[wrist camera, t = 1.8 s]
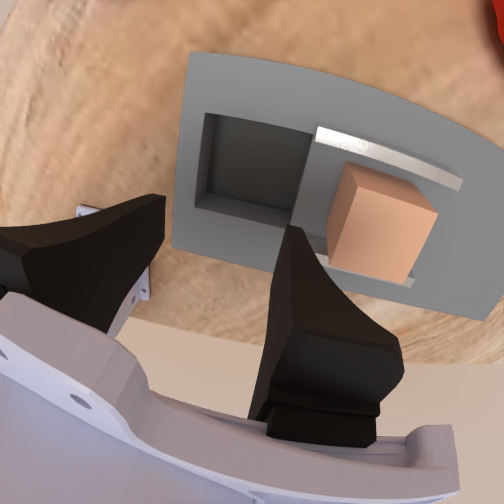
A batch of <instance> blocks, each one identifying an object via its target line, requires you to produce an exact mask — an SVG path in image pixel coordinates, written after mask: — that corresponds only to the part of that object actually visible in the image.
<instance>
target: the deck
mask: <svg viewBox="0 0 504 504" xmlns="http://www.w3.org/2000/svg"><path fill="white" fill-rule="evenodd" d="M317 122H321V123H324V124H328V125H332V126H335V127H338V128H342V129H345V130H349V131H352V132H355V133H358V134H361V135H364V136H367V137H370V138H373V139H376V140H379V141H382V142H385V143H388V144H391V145H393V146H396V147H399V148H401V149H404V150H407V151H409V152H412V153H414V154H417V155H419V156H422V157H424V158H426V159H429V160H431V161H434V162H436V163H438V164H440V165H443V166H445V167H447V168H449V169H451V170H452V171H453V172H455V173H456V174H457V175H458V176H460V177H461V178H462V179H463V182H462V184H461V187H460V189H459V192H458V191H456V190H454V189H452V188H449V187H447V186H445V185H442V184H440V183H437V182H435V181H433V180H430V179H428V178H425V177H423V176H420V175H418V174H415V173H412V172H410V171H407V170H404V169H402V168H399V167H396V166H393V165H391V164H388V163H385V162H382V161H379V160H376V159H373V158H370V157H367V156H364V155H361V154H358V153H354V152H351V151H348V150H344V149H341V148H338V147H334V146H331V145H327V144H323V143H320V142H316V141H315V140H314V131H315V127H316V123H317ZM346 161H350V162H353V163H356V164H360V165H363V166H366V167H369V168H372V169H375V170H378V171H381V172H384V173H387V174H390V175H393V176H396V177H398V178H401V179H404V180H407V181H410V182H412V183H413V184H414V185H415V186H416V187H417V189H418V190H419V191H420V192H421V193H422V194H423V196H424V197H425V198H426V199H427V200H428V202H429V203H430V204H431V205H432V207H433V208H434V209H435V210H436V212H437V213H438V216H437V218H436V220H435V222H434V225H433V227H432V229H431V231H430V233H429V235H428V237H427V239H426V241H425V243H424V245H423V247H422V249H421V251H420V253H419V255H418V257H417V259H416V261H415V263H414V265H413V267H412V268H411V269H412V271H413V273H414V276H415V278H416V279H415V281H414V283H413V285H412V286H411V288H408V287H404V286H400V285H396V284H392V283H388V282H384V281H380V280H376V279H372V278H368V277H364V276H360V275H356V274H352V273H348V272H344V271H340V270H336V269H332V268H328V267H324V266H323V268H324V269H325V271H326V272H327V274H328V275H329V276H330V278H331V279H332V280H333V281H334V283H335V284H336V285H337V286H338V287H339V289H341V290H346V291H350V292H354V293H359V294H363V295H367V296H372V297H376V298H380V299H385V300H389V301H393V302H398V303H402V304H407V305H411V306H416V307H420V308H424V309H429V310H434V311H438V312H443V313H447V314H452V315H456V316H461V317H466V318H470V319H475V320H480V321H485V320H486V318H487V317H488V316H489V314H490V313H491V312H492V310H493V309H494V307H495V306H496V305H497V303H498V302H499V300H500V299H501V297H502V296H503V294H504V150H502V149H500V148H499V147H497V146H496V145H494V144H492V143H491V142H489V141H487V140H486V139H484V138H482V137H481V136H479V135H477V134H475V133H474V132H472V131H470V130H468V129H466V128H465V127H463V126H461V125H459V124H457V123H455V122H453V121H451V120H449V119H447V118H445V117H443V116H441V115H439V114H437V113H435V112H432V111H430V110H428V109H426V108H424V107H421V106H419V105H417V104H414V103H412V102H410V101H407V100H405V99H402V98H400V97H397V96H395V95H392V94H389V93H387V92H384V91H381V90H379V89H376V88H373V87H370V86H367V85H364V84H361V83H358V82H355V81H351V80H348V79H345V78H342V77H338V76H335V75H331V74H327V73H323V72H320V71H316V70H312V69H307V68H303V67H299V66H294V65H289V64H285V63H279V62H274V61H269V60H263V59H257V58H250V57H243V56H235V55H227V54H217V53H206V52H192V51H190V55H189V61H188V68H187V74H186V81H185V88H184V96H183V103H182V112H181V120H180V129H179V139H178V150H177V161H176V174H175V188H174V205H173V226H172V248H175V249H179V250H183V251H187V252H191V253H195V254H199V255H203V256H207V257H211V258H215V259H219V260H222V261H226V262H230V263H234V264H238V265H242V266H246V267H250V268H255V269H259V270H263V271H267V272H271V273H274V269H275V265H276V261H277V258H278V254H279V250H280V247H281V243H282V239H283V236H284V232H285V228H286V225H287V224H289V225H293V226H297V227H301V228H302V229H303V230H304V232H305V234H307V235H311V236H315V237H319V238H323V239H327V234H326V223H327V220H328V217H329V214H330V211H331V208H332V205H333V202H334V199H335V196H336V192H337V189H338V186H339V183H340V180H341V176H342V173H343V170H344V167H345V163H346Z"/></svg>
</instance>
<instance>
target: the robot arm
mask: <svg viewBox="0 0 504 504" xmlns="http://www.w3.org/2000/svg"><path fill="white" fill-rule="evenodd" d="M165 203H166V196H162V195H158V194H147V195H144V196H140V197H137V198H134V199H132V200H129V201H126V202H123V203H120V204H118V205H115V206H112V207H109V208H106V209H103V210H99V209H95V208H91V207H87V206H82V205H79V206H78V207H77V208H76V214H77V217H76V218H72V219H68V220H63V221H58V222H52V223H47V224H39V225H30V226H15V227H0V504H432V503H435V502H438V501H440V500H443V499H446V498H448V497H451V496H453V495H456V494H458V493H459V491H460V485H459V474H458V464H457V455H456V448H455V441H454V435H453V429H452V425H450V424H446V425H425V426H421V427H418V428H416V429H414V430H413V431H412V432H410V433H409V434H408V435H407V436H406V437H392V436H390V437H389V436H376V417H378V416H379V415H380V402H381V401H382V400H383V399H384V398H385V397H386V396H387V395H388V394H389V393H390V392H391V391H392V390H393V389H394V388H395V387H396V386H397V385H398V383H399V382H400V381H401V379H402V377H403V374H404V365H403V358H402V352H401V348H400V344H399V341H398V338H397V337H396V336H395V335H393V334H392V333H390V332H389V331H387V330H386V329H384V328H383V327H382V326H380V325H379V324H377V323H376V322H375V321H373V320H372V319H371V318H370V317H368V316H367V315H366V314H365V313H364V312H362V311H361V310H360V309H359V308H358V307H357V306H356V305H355V304H354V303H353V302H352V301H351V300H350V299H349V298H348V297H347V296H346V295H345V294H344V293H343V292H342V291H341V290H340V289H339V287H338V286H337V285H336V284H335V283H334V281H333V280H332V279H331V278H330V276H329V275H328V274H327V272H326V271H325V269H324V268H323V266H322V265H321V263H320V261H319V260H318V258H317V256H316V254H315V253H314V251H313V249H312V247H311V245H310V243H309V241H308V239H307V237H306V234H305V232H304V230H303V229H302V228H301V227H297V226H293V225H289V224H287V225H286V228H285V232H284V236H283V239H282V243H281V247H280V250H279V254H278V258H277V261H276V265H275V269H274V274H273V278H272V283H271V289H270V300H269V311H268V322H267V332H266V339H265V344H264V349H263V354H262V359H261V363H260V368H259V372H258V376H257V381H256V385H255V389H254V394H253V398H252V402H251V406H250V410H249V414H248V418H247V419H245V418H240V417H236V416H232V415H228V414H223V413H220V412H216V411H212V410H209V409H205V408H201V407H198V406H194V405H191V404H188V403H185V402H181V401H178V400H175V399H172V398H169V397H166V396H163V395H160V394H158V393H156V392H154V391H152V390H150V389H149V386H148V381H147V377H146V374H145V372H144V370H143V369H142V367H141V365H140V363H139V362H138V360H137V358H136V356H134V355H133V354H132V353H131V352H130V351H128V349H126V348H125V347H124V346H123V345H122V344H121V343H120V342H119V341H117V340H115V339H114V338H115V337H116V336H117V335H118V333H119V331H120V329H121V328H122V326H123V325H124V323H125V322H126V320H127V318H128V317H129V315H130V314H131V312H132V311H133V309H134V307H135V306H136V304H137V303H138V301H139V300H140V299H141V300H144V301H148V300H149V299H150V287H149V269H148V265H149V264H150V263H151V261H152V260H153V258H154V257H155V255H156V254H157V252H158V250H159V248H160V246H161V244H162V242H163V241H164V239H165ZM81 215H82V216H81Z"/></svg>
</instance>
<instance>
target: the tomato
mask: <svg viewBox="0 0 504 504" xmlns="http://www.w3.org/2000/svg"><path fill="white" fill-rule="evenodd" d="M492 4H493V7H494V10H495V12H496V15H497V26H498V35H499V37H500V39H501V41H502V43H503V45H504V0H492Z"/></svg>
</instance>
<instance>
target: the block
mask: <svg viewBox="0 0 504 504" xmlns="http://www.w3.org/2000/svg"><path fill="white" fill-rule="evenodd" d="M437 216H438V213H437V212H436V210H435V209H434V208H433V207H432V205H431V204H430V203H429V202H428V200H427V199H426V198H425V197H424V196H423V194H422V193H421V192H420V191H419V190H418V189H417V187H416V186H415V185H414V184H413V183H412V182H410V181H407V180H404V179H401V178H398V177H396V176H393V175H390V174H387V173H384V172H381V171H378V170H375V169H372V168H369V167H366V166H363V165H360V164H356V163H353V162H350V161H346V163H345V167H344V170H343V173H342V176H341V180H340V183H339V186H338V189H337V192H336V196H335V199H334V202H333V205H332V208H331V211H330V214H329V217H328V220H327V223H326V234H327V245H328V259H329V266H333V267H337V268H341V269H345V270H349V271H353V272H357V273H361V274H365V275H369V276H373V277H377V278H381V279H385V280H389V281H393V282H397V283H401V284H403V283H404V281H405V279H406V278H407V276H408V274H409V272H410V270H411V268H412V267H413V265H414V263H415V261H416V259H417V257H418V255H419V253H420V251H421V249H422V247H423V245H424V243H425V241H426V239H427V237H428V235H429V233H430V231H431V229H432V227H433V225H434V222H435V220H436V218H437Z"/></svg>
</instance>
